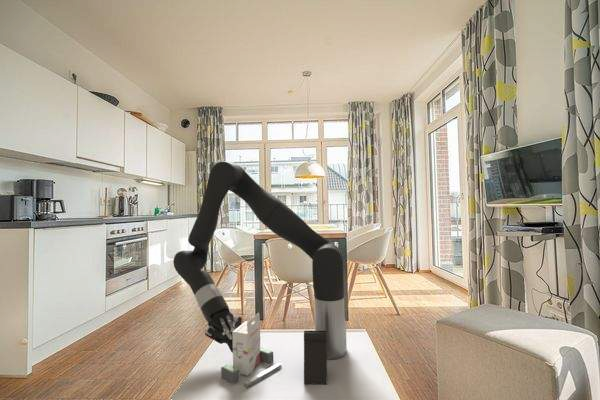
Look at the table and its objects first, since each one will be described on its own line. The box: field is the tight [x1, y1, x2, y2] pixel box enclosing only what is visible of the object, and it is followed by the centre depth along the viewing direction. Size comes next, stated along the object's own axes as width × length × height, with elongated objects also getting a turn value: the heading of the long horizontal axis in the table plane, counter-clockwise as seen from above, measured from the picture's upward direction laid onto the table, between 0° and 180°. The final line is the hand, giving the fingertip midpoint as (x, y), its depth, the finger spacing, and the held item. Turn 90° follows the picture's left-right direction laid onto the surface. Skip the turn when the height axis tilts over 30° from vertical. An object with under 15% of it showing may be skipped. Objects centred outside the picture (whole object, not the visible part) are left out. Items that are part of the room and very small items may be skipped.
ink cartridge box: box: [232, 312, 261, 376], centre depth 96 cm, size 9×5×15 cm, turn 163°
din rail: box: [243, 362, 282, 389], centre depth 91 cm, size 13×1×1 cm, turn 141°
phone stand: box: [303, 330, 328, 385], centre depth 91 cm, size 9×6×12 cm, turn 174°
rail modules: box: [220, 346, 275, 385], centre depth 95 cm, size 15×5×3 cm, turn 141°
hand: (237, 352), depth 98 cm, fingers closed
